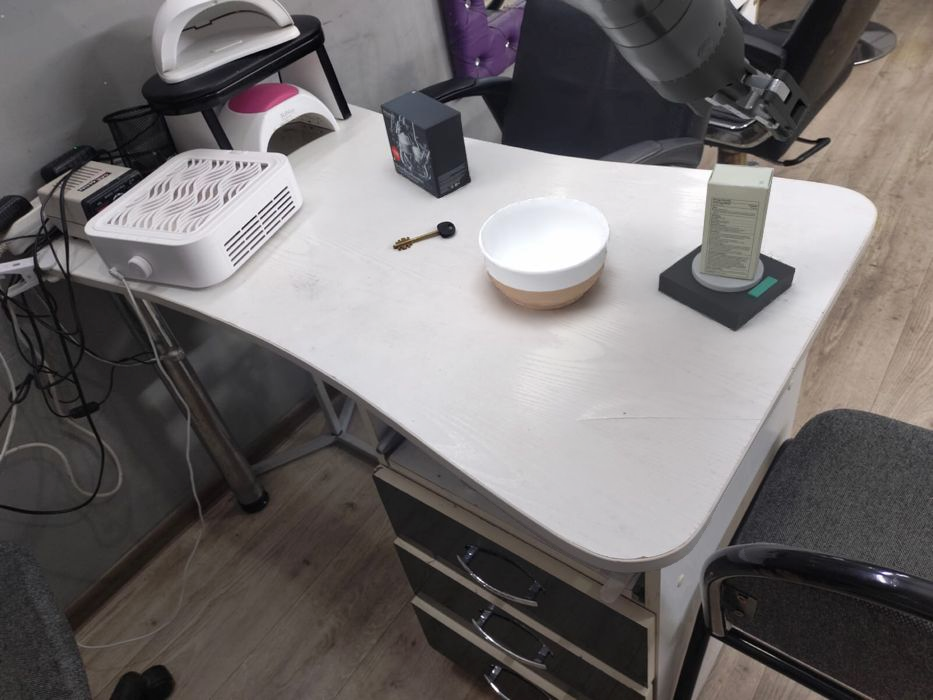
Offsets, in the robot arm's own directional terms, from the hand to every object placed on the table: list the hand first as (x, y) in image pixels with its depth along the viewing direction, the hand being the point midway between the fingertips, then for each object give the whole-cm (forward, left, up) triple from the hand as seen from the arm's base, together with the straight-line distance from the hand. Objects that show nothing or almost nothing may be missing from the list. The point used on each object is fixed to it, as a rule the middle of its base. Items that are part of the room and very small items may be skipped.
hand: (745, 118), depth 63 cm
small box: (+53, +2, -24) cm, 58 cm away
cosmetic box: (+2, -4, -21) cm, 22 cm away
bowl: (+19, +9, -24) cm, 32 cm away
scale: (+2, -5, -24) cm, 25 cm away
